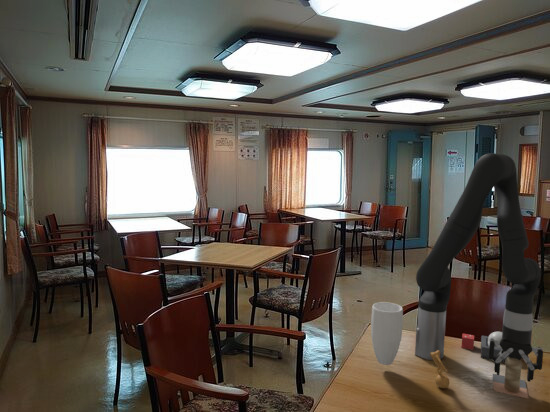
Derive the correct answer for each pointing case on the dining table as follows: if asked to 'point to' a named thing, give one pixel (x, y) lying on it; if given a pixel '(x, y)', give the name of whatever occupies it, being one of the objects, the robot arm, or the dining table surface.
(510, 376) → the wooden pawn
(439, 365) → the figurine
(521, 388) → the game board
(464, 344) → the red die
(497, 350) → the dark grey square tray
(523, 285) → the robot arm
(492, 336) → the white ball
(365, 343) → the dining table surface
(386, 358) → the cup
